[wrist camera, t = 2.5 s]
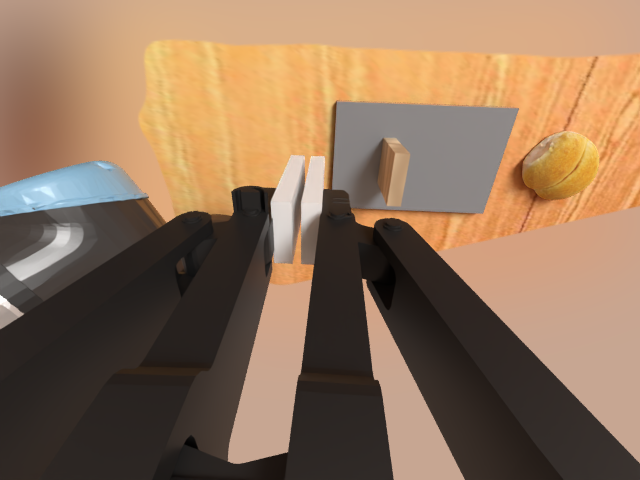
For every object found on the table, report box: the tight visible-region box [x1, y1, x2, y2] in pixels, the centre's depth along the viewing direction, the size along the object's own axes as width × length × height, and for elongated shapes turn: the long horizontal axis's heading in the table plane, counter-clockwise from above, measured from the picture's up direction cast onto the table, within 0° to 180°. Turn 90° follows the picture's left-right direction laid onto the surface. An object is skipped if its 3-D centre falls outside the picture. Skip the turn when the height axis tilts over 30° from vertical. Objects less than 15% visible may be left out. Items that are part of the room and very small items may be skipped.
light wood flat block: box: [377, 138, 410, 207], centre depth 36 cm, size 2×6×8 cm, turn 179°
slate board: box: [332, 100, 519, 214], centre depth 40 cm, size 22×14×1 cm, turn 88°
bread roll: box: [522, 131, 599, 200], centre depth 39 cm, size 8×9×4 cm
